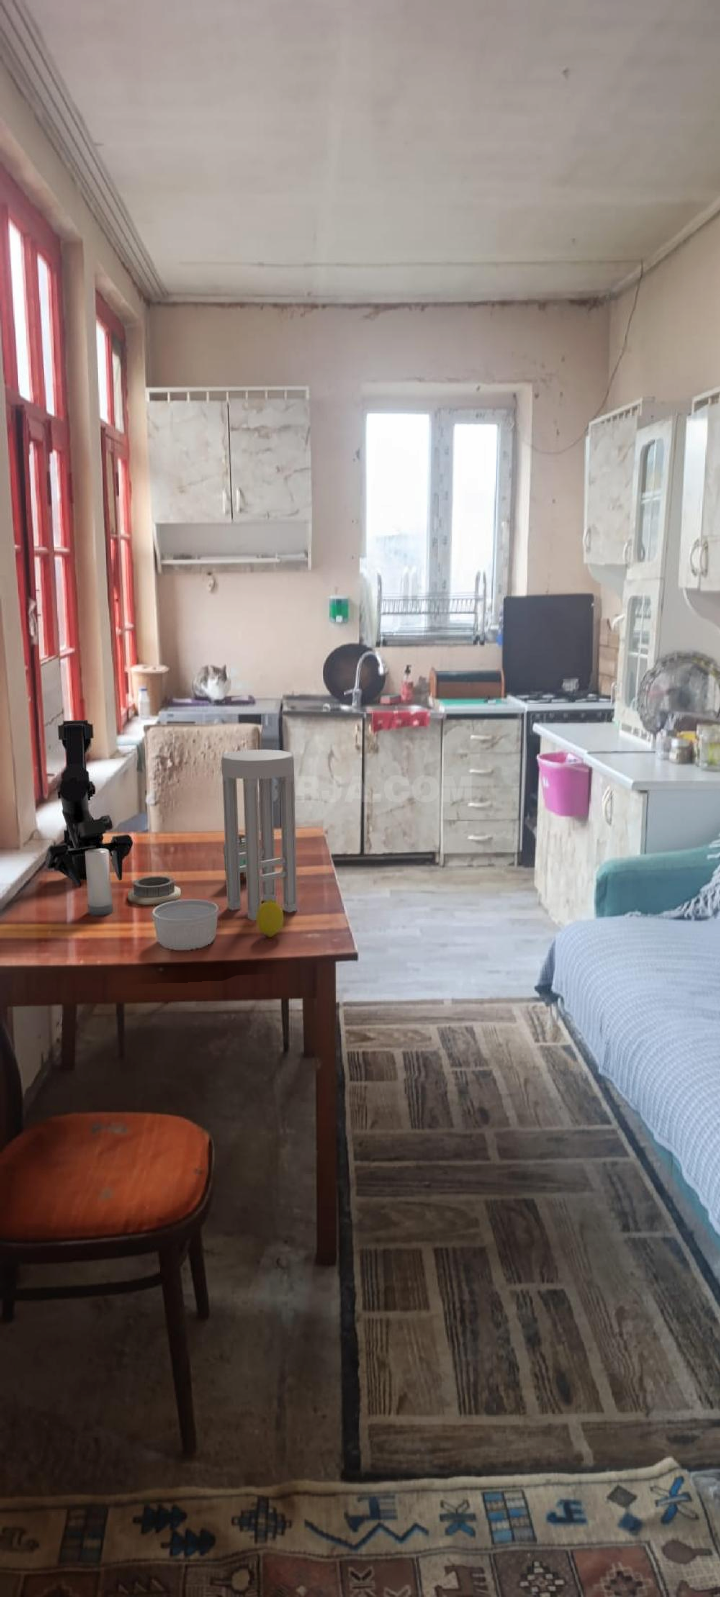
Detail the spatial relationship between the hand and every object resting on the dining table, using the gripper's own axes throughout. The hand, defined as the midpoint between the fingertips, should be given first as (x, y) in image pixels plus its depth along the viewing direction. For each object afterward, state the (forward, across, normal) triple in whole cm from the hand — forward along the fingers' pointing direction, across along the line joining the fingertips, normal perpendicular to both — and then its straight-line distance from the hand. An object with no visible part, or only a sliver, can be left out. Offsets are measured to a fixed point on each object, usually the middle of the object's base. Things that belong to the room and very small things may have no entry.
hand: (100, 882), depth 218 cm
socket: (+1, +14, +9) cm, 17 cm away
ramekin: (+25, +7, -14) cm, 29 cm away
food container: (+1, +38, +9) cm, 39 cm away
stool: (+18, +30, -8) cm, 36 cm away
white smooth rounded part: (+4, 0, +6) cm, 7 cm away
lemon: (+30, +22, -20) cm, 42 cm away
